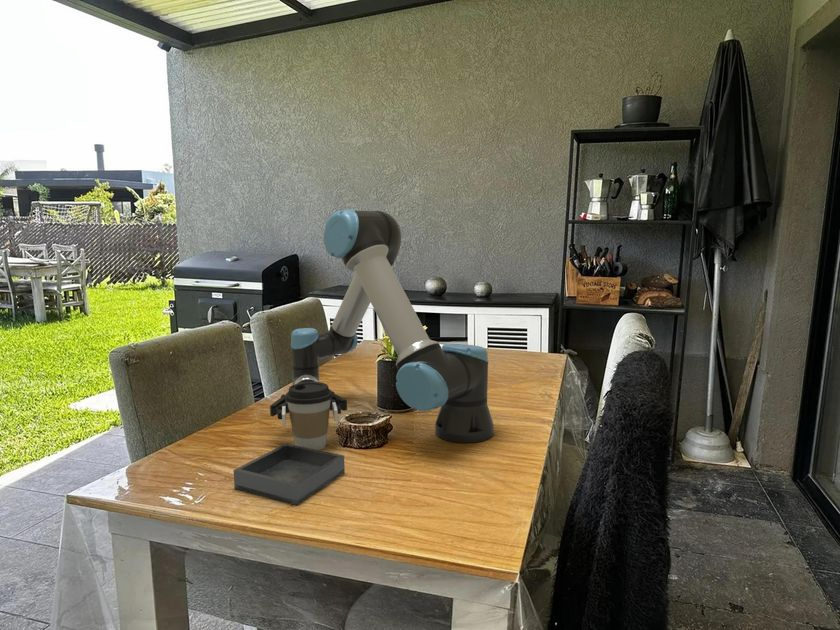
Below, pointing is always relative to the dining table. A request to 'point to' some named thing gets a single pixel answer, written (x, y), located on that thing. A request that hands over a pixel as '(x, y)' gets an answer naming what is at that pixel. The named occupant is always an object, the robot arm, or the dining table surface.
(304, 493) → the square tray
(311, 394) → the coffee cup
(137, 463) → the dining table surface
